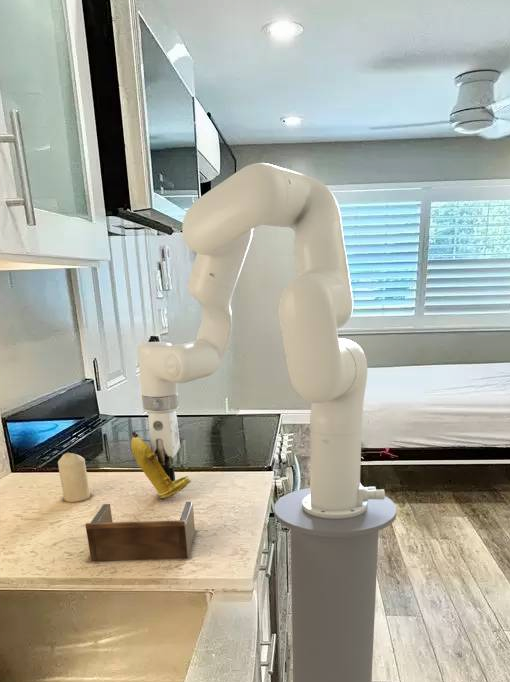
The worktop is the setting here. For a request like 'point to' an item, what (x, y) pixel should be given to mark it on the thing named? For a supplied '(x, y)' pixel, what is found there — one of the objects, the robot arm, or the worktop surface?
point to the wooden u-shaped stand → (140, 537)
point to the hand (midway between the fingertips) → (167, 483)
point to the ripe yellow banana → (155, 469)
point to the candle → (73, 477)
